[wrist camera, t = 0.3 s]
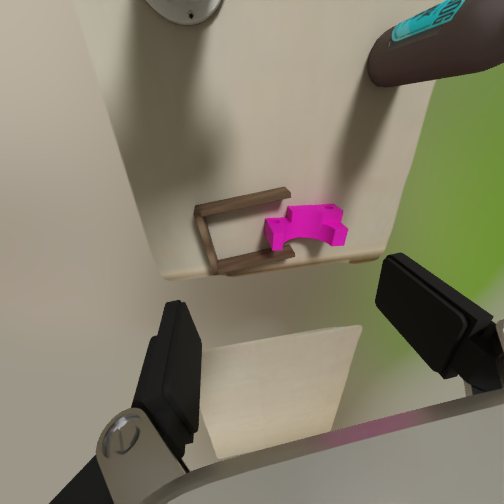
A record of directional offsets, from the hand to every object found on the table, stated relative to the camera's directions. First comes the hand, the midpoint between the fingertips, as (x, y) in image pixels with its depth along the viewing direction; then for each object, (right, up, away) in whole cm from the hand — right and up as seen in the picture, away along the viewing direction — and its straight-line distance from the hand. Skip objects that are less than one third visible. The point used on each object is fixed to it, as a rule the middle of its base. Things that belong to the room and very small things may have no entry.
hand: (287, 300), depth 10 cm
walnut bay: (-3, +7, +38) cm, 39 cm away
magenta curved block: (+9, +10, +39) cm, 41 cm away
